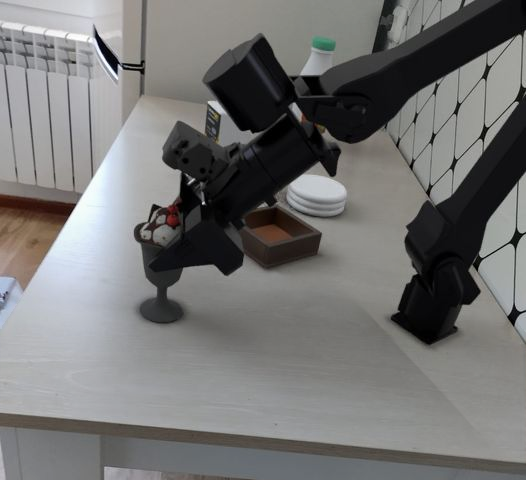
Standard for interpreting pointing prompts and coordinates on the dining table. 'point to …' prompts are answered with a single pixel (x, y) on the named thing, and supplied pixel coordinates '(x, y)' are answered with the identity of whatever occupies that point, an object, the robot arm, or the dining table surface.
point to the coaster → (317, 195)
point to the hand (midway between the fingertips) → (151, 252)
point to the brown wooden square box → (277, 237)
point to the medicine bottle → (223, 127)
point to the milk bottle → (317, 67)
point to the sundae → (152, 242)
